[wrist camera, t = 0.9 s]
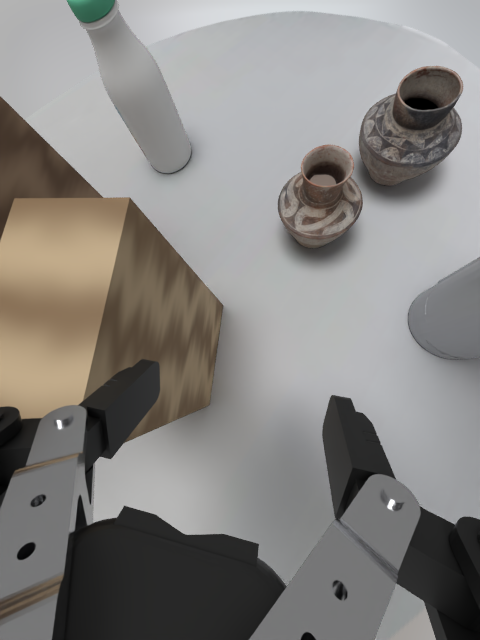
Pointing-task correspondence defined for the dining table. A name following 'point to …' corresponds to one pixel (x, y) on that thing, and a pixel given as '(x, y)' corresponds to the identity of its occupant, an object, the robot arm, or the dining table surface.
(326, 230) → the pottery
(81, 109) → the dining table surface
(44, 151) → the tall stand
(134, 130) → the milk bottle
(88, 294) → the lower block
